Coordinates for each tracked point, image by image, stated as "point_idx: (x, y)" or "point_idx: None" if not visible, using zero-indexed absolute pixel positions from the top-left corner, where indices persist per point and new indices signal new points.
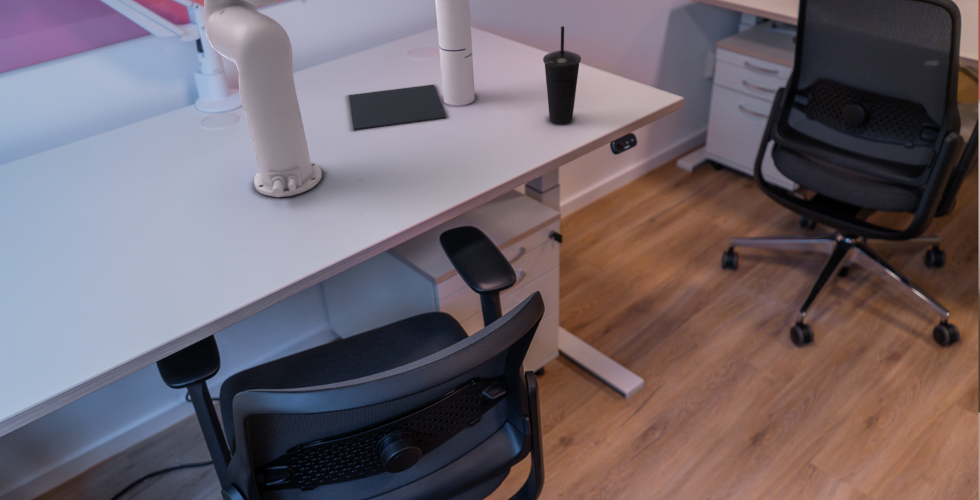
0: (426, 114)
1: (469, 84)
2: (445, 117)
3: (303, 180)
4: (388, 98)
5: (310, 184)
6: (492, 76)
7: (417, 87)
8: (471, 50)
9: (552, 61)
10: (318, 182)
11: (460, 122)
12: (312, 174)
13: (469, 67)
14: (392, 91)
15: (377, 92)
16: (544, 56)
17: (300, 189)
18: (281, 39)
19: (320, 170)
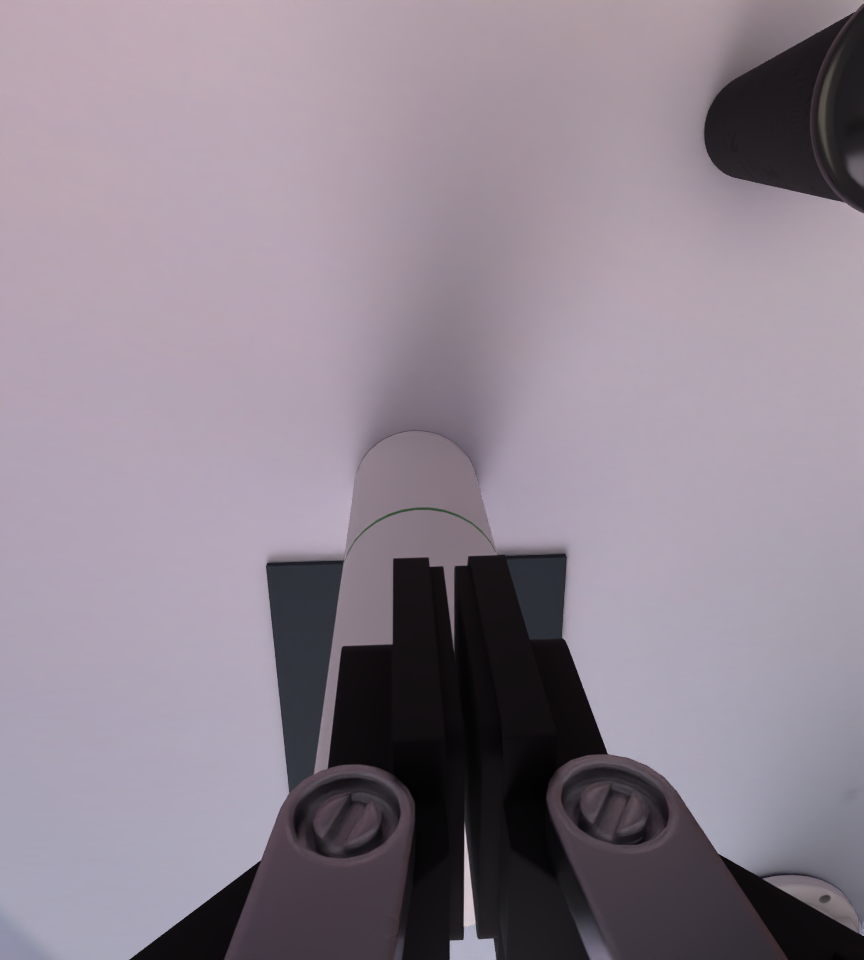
0: (526, 615)
1: (472, 482)
2: (565, 557)
3: (835, 919)
4: None
5: (847, 901)
6: (212, 317)
7: (280, 622)
8: (458, 522)
9: None
10: (822, 880)
11: (616, 513)
12: (802, 900)
13: (477, 508)
14: (296, 702)
15: (292, 745)
16: (860, 201)
17: (857, 917)
18: None
19: (791, 886)
